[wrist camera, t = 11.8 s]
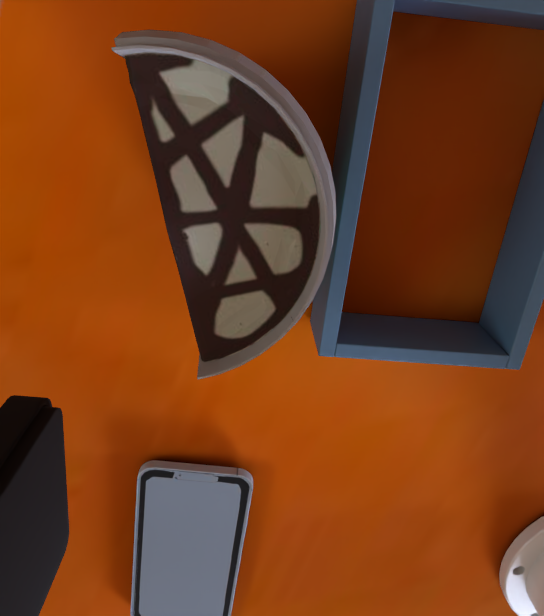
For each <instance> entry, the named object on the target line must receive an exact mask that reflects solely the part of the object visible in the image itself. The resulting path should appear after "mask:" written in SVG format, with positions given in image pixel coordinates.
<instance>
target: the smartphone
mask: <svg viewBox="0 0 544 616" xmlns="http://www.w3.org/2000/svg"><path fill="white" fill-rule="evenodd" d="M252 491H253V478H252V475H251V474H250V473H249V472H248V471H246V470H244V469H242V468H234V467H223V466H212V465H201V464H190V463H180V462H169V461H158V460H153V461H148V462H146V463H144V464H143V465H142V466H141V467H140V470H139V473H138V477H137V493H136V508H135V528H134V532H135V533H134V553H133V574H132V594H131V616H231V612H232V606H233V600H234V594H235V589H236V583H237V577H238V571H239V566H240V560H241V554H242V548H243V543H244V537H245V533H246V528H247V522H248V514H249V508H250V502H251V497H252Z"/></svg>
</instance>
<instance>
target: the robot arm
mask: <svg viewBox="0 0 544 616" xmlns="http://www.w3.org/2000/svg"><path fill="white" fill-rule="evenodd" d="M68 537H69V519H68V502H67V485H66V468H65V450H64V433H63V416H62V411H61V409H60V408H56V407H52V404H51V401H50V399H48V398H41V397H28V396H15V395H14V396H11V397H9V398H8V399H7V400H6V402H5V403H4V404H3V405H2V407H1V408H0V616H39V613H40V611H41V609H42V606H43V604H44V601H45V599H46V597H47V594H48V592H49V589H50V587H51V585H52V582H53V580H54V578H55V575H56V573H57V570H58V568H59V566H60V563H61V561H62V558H63V556H64V553H65V551H66V547H67V543H68ZM499 578H500V586H501V589H502V591H503V594H504V596H505V598H506V600H507V602H508V604H509V605H510V607H511V609H512V610H513V611H514V612H515V613H516V614H517V615H518V616H544V516H542V517H540V518H539V519H538V520H536V521H535V522H533V523H532V524H531V525H529V526H528V527H527V528H526V529H525V530H524V531H522V532H521V533H520V534H519V535H518V536H517V537H516V538H515V540H514V541H513V543H512V544H511V545H510V547H509V548H508V550H507V551H506V553H505V556H504V558H503V560H502V562H501V567H500V572H499Z"/></svg>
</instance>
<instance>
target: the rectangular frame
mask: <svg viewBox="0 0 544 616" xmlns="http://www.w3.org/2000/svg"><path fill="white" fill-rule="evenodd" d="M393 11H394V12H402V13H410V14H418V15H426V16H434V17H442V18H451V19H459V20H467V21H475V22H483V23H491V24H499V25H507V26H515V27H523V28H531V29H539V30H544V0H357V4H356V11H355V18H354V24H353V31H352V38H351V45H350V52H349V59H348V66H347V72H346V79H345V86H344V93H343V100H342V107H341V114H340V120H339V127H338V134H337V141H336V148H335V155H334V162H333V169H332V177H333V182H334V187H335V196H336V223H335V231H334V239H333V245H332V250H331V254H330V258H329V261H328V264H327V268H326V271H325V274H324V278H323V280H322V282H321V284H320V286H319V288H318V290H317V292H316V295H315V297H314V299H313V306H312V313H311V320H310V323H311V327H312V331H313V335H314V339H315V343H316V347H317V351H318V355H319V356H328V357H334V356H335V357H344V358H358V359H372V360H386V361H401V362H415V363H429V364H443V365H457V366H472V367H486V368H500V369H505V368H506V369H517V370H519V369H520V367H521V364H522V361H523V358H524V355H525V352H526V349H527V346H528V343H529V341H530V338H531V335H532V332H533V329H534V326H535V323H536V320H537V317H538V314H539V311H540V308H541V305H542V302H543V299H544V100H543V104H542V107H541V110H540V114H539V117H538V121H537V124H536V128H535V131H534V135H533V138H532V141H531V145H530V148H529V152H528V155H527V159H526V162H525V166H524V169H523V173H522V176H521V179H520V183H519V186H518V190H517V193H516V197H515V200H514V204H513V207H512V210H511V214H510V217H509V221H508V224H507V228H506V231H505V235H504V238H503V241H502V245H501V248H500V252H499V255H498V259H497V262H496V266H495V269H494V273H493V276H492V279H491V283H490V286H489V290H488V293H487V297H486V300H485V304H484V307H483V310H482V314H481V317H480V321H479V323H475V322H462V321H449V320H436V319H423V318H410V317H397V316H384V315H371V314H358V313H345V312H342V307H343V301H344V296H345V290H346V284H347V278H348V272H349V266H350V260H351V255H352V249H353V243H354V237H355V231H356V225H357V220H358V214H359V208H360V202H361V196H362V190H363V184H364V179H365V173H366V167H367V161H368V155H369V149H370V144H371V138H372V132H373V126H374V120H375V114H376V108H377V103H378V97H379V91H380V85H381V79H382V73H383V68H384V62H385V56H386V50H387V44H388V38H389V33H390V27H391V21H392V15H393Z"/></svg>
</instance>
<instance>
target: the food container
mask: <svg viewBox="0 0 544 616" xmlns="http://www.w3.org/2000/svg"><path fill="white" fill-rule="evenodd" d="M114 40H115V44H116V47H112V51H114V52H115V53H117V54H119V55H120V56H122V57H123V58H125V59H126V65H127V68H128V72H129V79H130V84H131V86H132V89H133V92H134V94H135V98H136V101H137V105H138V109H139V112H140V117H141V121H142V125H143V129H144V133H145V137H146V141H147V146H148V150H149V154H150V158H151V162H152V166H153V170H154V174H155V179H156V183H157V187H158V192H159V196H160V201H161V205H162V210H163V214H164V219H165V223H166V228H167V232H168V235H169V239H170V242H171V246H172V249H173V253H174V256H175V260H176V263H177V267H178V271H179V275H180V278H181V282H182V286H183V290H184V294H185V297H186V301H187V305H188V309H189V313H190V317H191V321H192V325H193V329H194V333H195V337H196V341H197V344H198V348H199V352H200V356H199V366H198V375H197V379H202V378H206V377H210V376H214V375H218V374H221V373H224V372H226V371H229V370H231V369H234V368H237V367H239V366H241V365H243V364H245V363H247V362H248V361H250V360H252V359H254V358H255V357H257V356H259V355H261V354H262V353H263V352H264V351H266V350H267V349H268V348H270V347H271V346H272V345H273V344H275V343H276V342H277V341H279V340H280V339H281V338H282V337H283V336H284V335H285V334H286V333H287V332H288V331H289V330H290V329H291V328H292V327H293V326H294V325H295V324H296V323H297V322H298V320H299V319H300V318H301V316H302V315H303V314H304V312H305V311H306V309H307V308H308V306H309V305H310V303H311V302H312V301H313V299H314V297H315V295H316V292H317V290H318V288H319V286H320V284H321V282H322V280H323V278H324V274H325V271H326V268H327V264H328V261H329V258H330V254H331V250H332V245H333V239H334V231H335V223H336V196H335V187H334V182H333V177H332V172H331V167H330V163H329V160H328V158H327V155H326V152H325V149H324V147H323V144H322V141H321V139H320V137H319V135H318V133H317V131H316V130H315V128H314V126H313V124H312V123H311V121H310V119H309V117H308V115H307V114H306V112H305V111H304V110H303V108H302V107H301V106H300V105H299V103H298V102H297V101H296V100H295V98H294V97H293V96H292V95H291V93H290V92H289V91H288V90H287V89H286V88H285V87H284V86H283V85H282V84H281V83H280V82H279V81H277V80H276V79H275V78H274V77H273V76H272V75H271V74H270V73H269V72H268V71H267V70H265V69H264V68H262V67H261V66H259V65H258V64H256V63H255V62H253V61H252V60H250V59H249V58H247V57H246V56H244V55H243V54H241V53H239V52H237V51H235V50H233V49H230V48H228V47H226V46H224V45H221V44H219V43H217V42H215V41H212V40H209V39H205V38H201V37H198V36H194V35H190V34H186V33H182V32H172V31H159V30H141V31H130V32H122V33H121V34H119V35H118V36H117V37H116V38H115V39H114Z"/></svg>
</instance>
